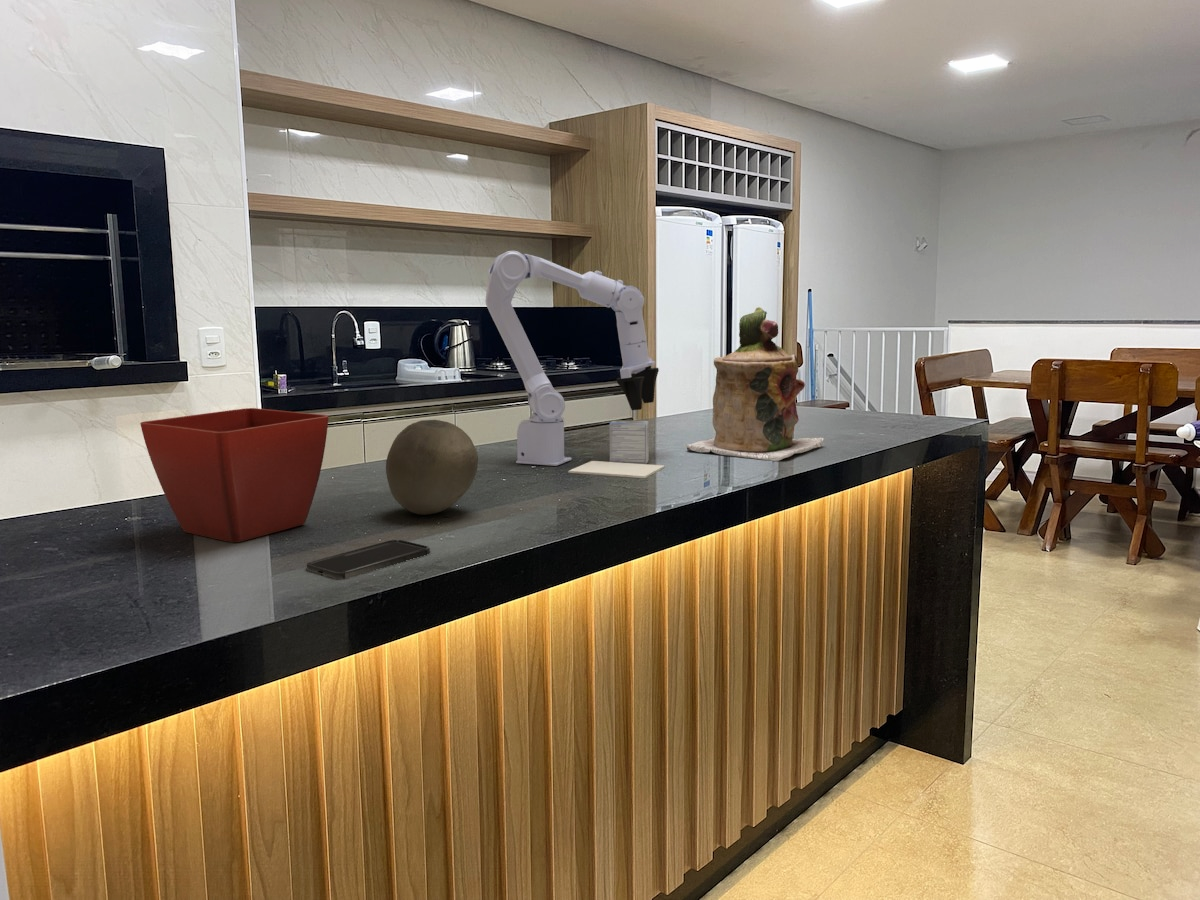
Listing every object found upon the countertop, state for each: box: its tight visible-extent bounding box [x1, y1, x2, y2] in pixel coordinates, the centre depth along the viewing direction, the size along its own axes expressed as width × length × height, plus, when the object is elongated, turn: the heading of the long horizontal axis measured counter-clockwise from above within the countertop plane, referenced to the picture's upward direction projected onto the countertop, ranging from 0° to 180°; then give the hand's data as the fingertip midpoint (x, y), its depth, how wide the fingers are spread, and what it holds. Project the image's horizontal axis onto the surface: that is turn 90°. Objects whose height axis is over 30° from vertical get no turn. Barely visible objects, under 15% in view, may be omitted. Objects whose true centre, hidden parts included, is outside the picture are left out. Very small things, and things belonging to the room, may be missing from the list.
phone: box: [306, 539, 431, 580], centre depth 118 cm, size 8×1×15 cm
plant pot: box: [140, 407, 329, 543], centre depth 134 cm, size 19×19×17 cm
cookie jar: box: [685, 306, 825, 462], centre depth 202 cm, size 25×25×32 cm
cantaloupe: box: [385, 419, 479, 516], centre depth 143 cm, size 14×14×15 cm
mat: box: [567, 460, 666, 479], centre depth 180 cm, size 16×12×1 cm
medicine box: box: [609, 419, 650, 464], centre depth 188 cm, size 8×4×9 cm, turn 82°
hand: (642, 406), depth 192 cm, fingers open, 7 cm apart
